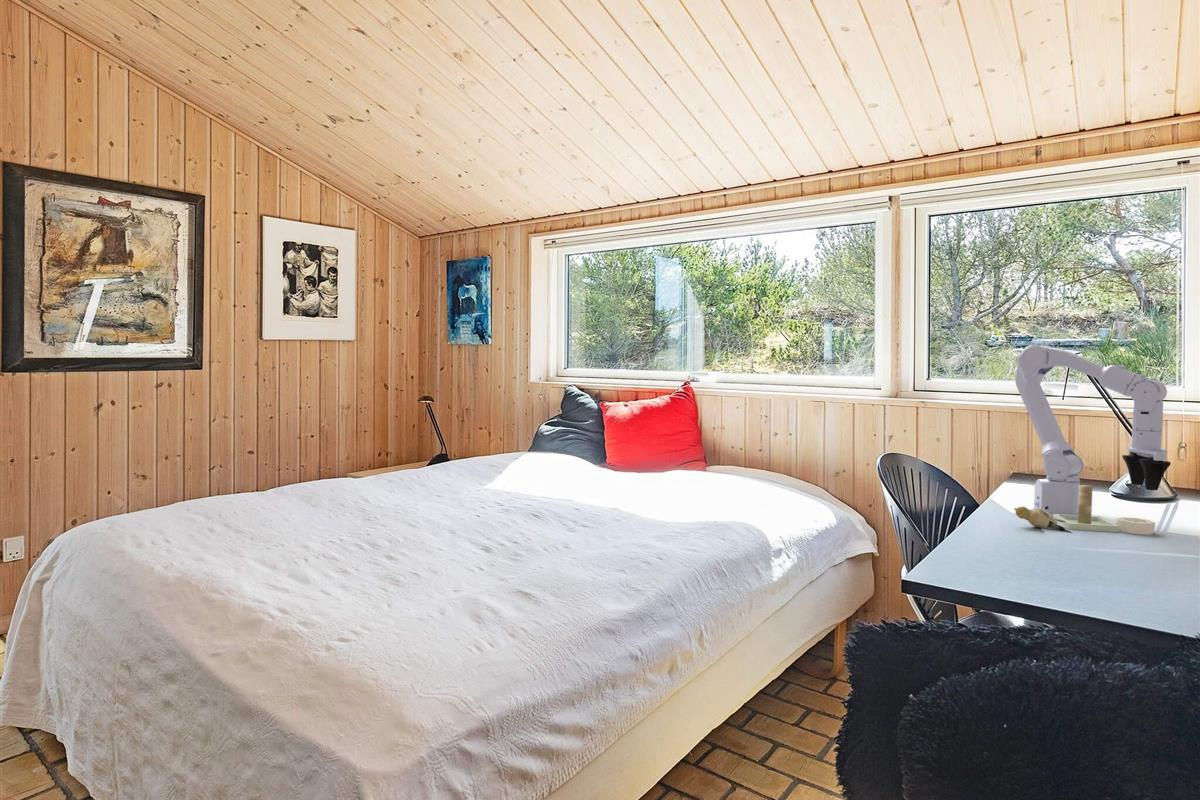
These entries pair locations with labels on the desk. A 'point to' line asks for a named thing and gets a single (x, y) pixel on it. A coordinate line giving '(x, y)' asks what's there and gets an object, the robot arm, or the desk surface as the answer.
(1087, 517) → the dowel pin
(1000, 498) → the desk surface
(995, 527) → the desk surface
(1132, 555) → the desk surface
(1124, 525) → the pin cup
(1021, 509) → the decorative bird model
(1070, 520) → the tray
